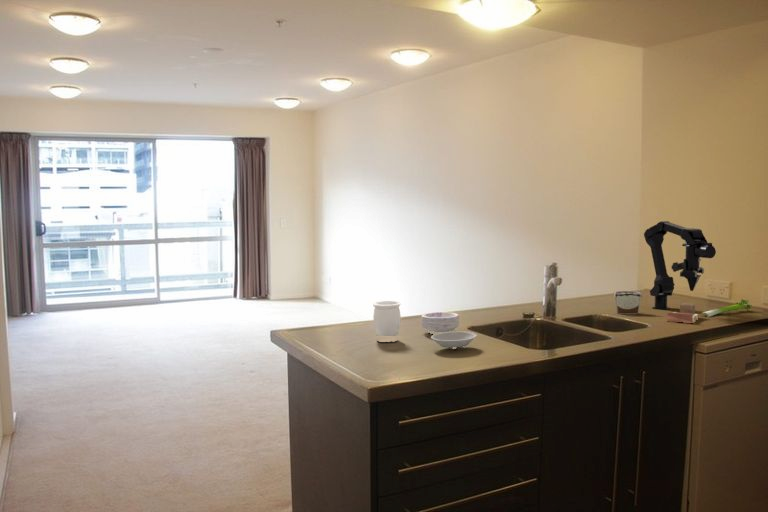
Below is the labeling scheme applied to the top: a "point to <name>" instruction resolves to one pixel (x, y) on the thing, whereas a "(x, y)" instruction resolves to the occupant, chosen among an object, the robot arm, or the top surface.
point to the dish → (453, 339)
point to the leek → (729, 308)
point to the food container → (627, 302)
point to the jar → (387, 318)
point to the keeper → (687, 308)
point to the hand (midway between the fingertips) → (691, 290)
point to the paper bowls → (440, 321)
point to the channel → (681, 317)
